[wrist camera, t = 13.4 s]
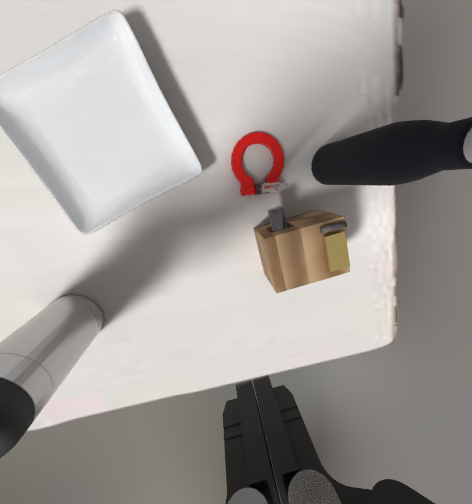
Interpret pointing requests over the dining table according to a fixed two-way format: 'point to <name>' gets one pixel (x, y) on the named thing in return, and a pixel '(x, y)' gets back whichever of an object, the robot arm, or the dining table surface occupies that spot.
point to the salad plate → (95, 124)
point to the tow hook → (272, 177)
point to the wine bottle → (395, 153)
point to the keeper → (336, 251)
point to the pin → (277, 219)
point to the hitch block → (298, 250)
